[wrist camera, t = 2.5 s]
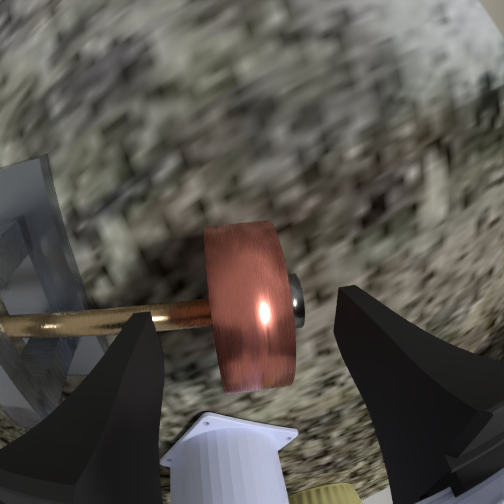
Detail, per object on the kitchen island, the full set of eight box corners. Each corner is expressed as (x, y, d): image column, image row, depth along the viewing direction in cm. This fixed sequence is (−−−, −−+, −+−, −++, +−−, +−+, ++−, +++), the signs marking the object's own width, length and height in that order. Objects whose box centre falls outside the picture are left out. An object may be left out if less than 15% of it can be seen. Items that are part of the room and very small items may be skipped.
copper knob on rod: (-7, 335, 14) (-46, 409, 9) (-49, 246, 11) (-112, 313, 6) (281, 313, 16) (314, 412, 11) (278, 195, 13) (330, 274, 8)
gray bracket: (47, 364, 16) (19, 445, 11) (-31, 178, 11) (-114, 235, 5) (116, 364, 17) (100, 456, 11) (47, 154, 11) (-43, 207, 6)
